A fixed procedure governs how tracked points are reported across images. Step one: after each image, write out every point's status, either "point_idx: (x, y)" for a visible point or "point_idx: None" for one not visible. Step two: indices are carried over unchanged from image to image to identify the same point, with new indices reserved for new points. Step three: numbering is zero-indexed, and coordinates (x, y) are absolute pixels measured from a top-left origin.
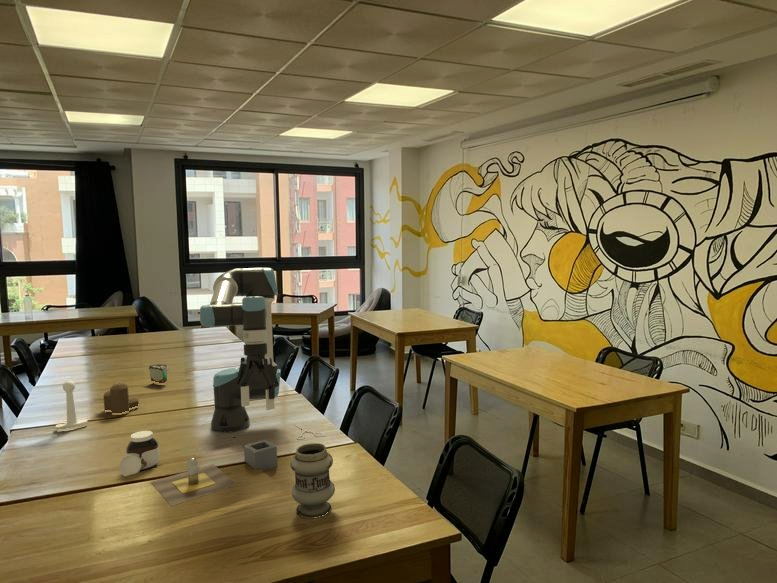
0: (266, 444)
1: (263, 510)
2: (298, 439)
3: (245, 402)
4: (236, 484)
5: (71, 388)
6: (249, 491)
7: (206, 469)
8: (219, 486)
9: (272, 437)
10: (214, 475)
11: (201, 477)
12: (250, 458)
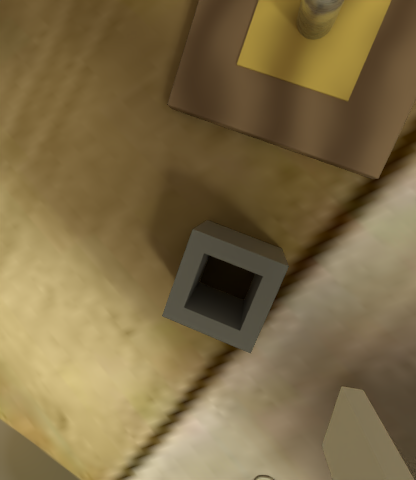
0: (217, 319)
1: (21, 56)
2: (264, 477)
3: (345, 442)
4: (172, 102)
5: None
6: (133, 118)
7: (363, 130)
8: (211, 59)
9: None
10: (293, 110)
11: (322, 67)
12: (234, 238)
